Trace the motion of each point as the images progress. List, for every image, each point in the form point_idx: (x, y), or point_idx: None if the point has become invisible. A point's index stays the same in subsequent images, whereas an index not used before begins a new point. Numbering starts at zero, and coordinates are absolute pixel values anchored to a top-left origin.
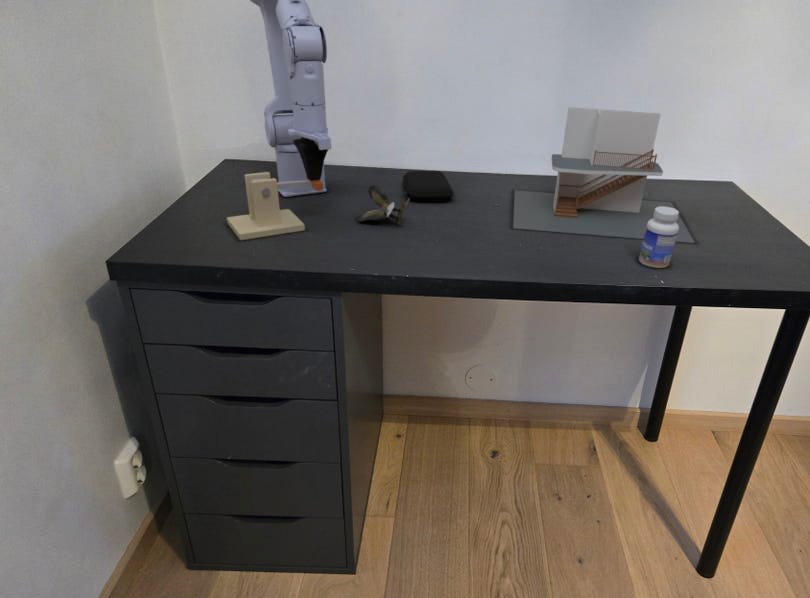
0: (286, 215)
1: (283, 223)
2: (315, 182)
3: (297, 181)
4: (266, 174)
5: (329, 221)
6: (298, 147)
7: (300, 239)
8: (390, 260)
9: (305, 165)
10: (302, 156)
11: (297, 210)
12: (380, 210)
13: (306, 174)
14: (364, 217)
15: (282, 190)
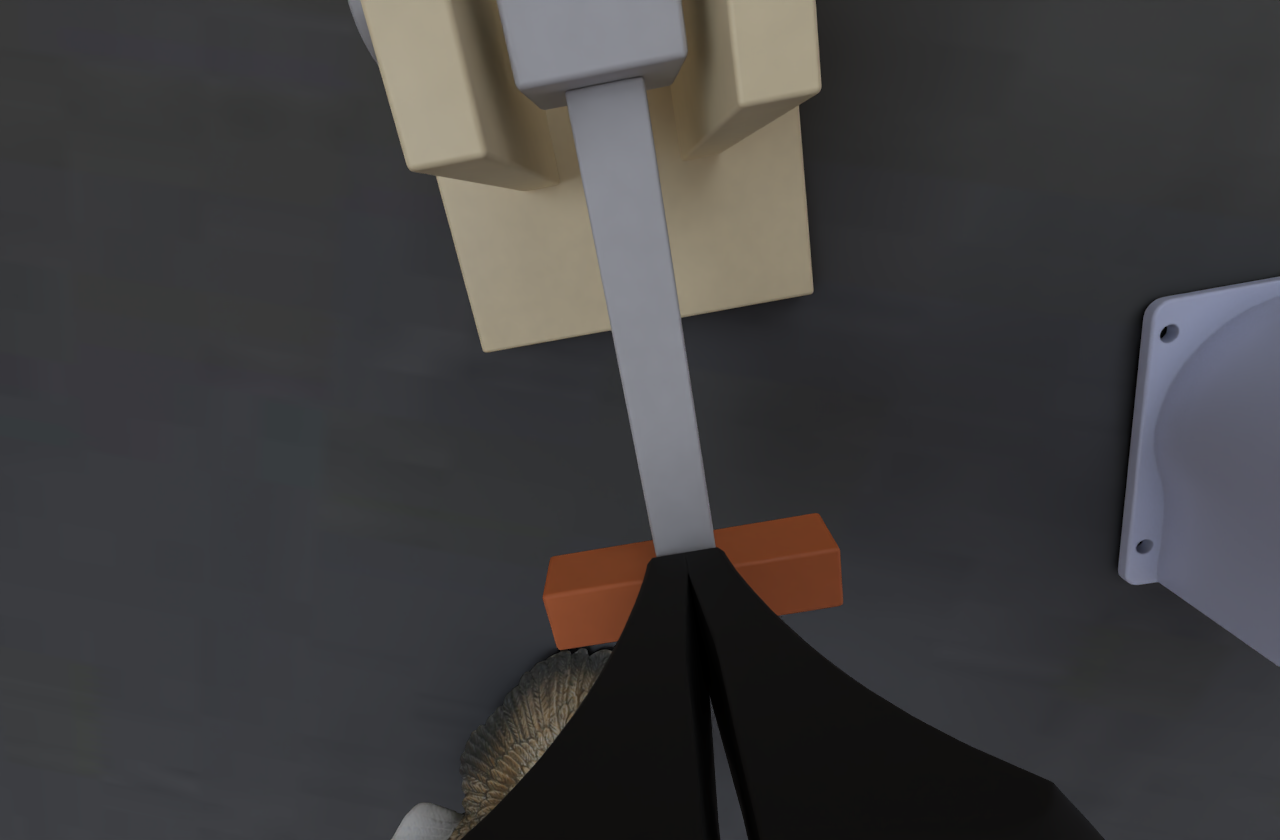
0: (679, 254)
1: (523, 209)
2: (590, 596)
3: (665, 437)
4: (729, 47)
5: (619, 505)
6: (756, 808)
7: (346, 291)
8: (41, 678)
9: (679, 634)
10: (732, 702)
11: (865, 351)
12: (492, 802)
13: (717, 564)
14: (534, 694)
15: (1258, 305)
